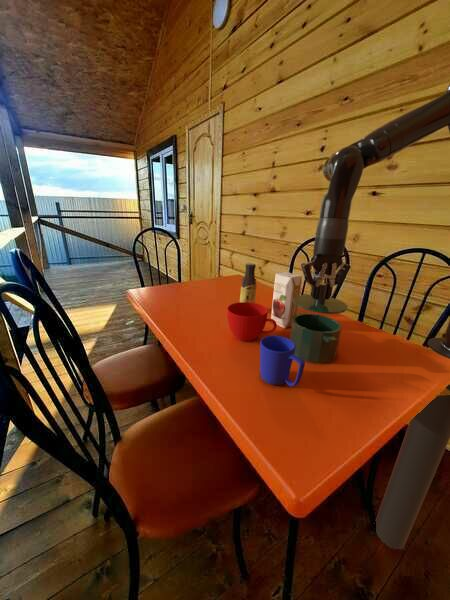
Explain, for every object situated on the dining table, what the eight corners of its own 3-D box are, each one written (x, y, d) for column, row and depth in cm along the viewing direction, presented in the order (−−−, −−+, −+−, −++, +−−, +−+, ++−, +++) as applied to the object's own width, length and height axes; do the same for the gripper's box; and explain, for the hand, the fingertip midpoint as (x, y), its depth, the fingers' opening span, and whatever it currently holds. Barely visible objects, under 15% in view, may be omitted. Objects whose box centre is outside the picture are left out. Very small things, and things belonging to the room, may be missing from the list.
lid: (329, 297, 80) (333, 277, 78) (358, 315, 67) (363, 291, 65) (285, 298, 78) (288, 277, 76) (305, 316, 65) (309, 291, 63)
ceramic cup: (263, 355, 74) (266, 324, 71) (218, 337, 83) (219, 309, 80) (282, 339, 84) (286, 311, 80) (240, 325, 93) (241, 299, 90)
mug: (285, 403, 55) (291, 364, 52) (250, 375, 65) (253, 340, 62) (310, 390, 60) (316, 353, 57) (274, 365, 69) (278, 332, 66)
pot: (318, 335, 87) (322, 309, 84) (350, 367, 69) (357, 336, 66) (279, 336, 85) (282, 310, 82) (303, 370, 68) (308, 338, 65)
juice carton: (281, 317, 101) (286, 270, 95) (298, 325, 95) (305, 275, 88) (267, 321, 97) (272, 273, 91) (285, 330, 90) (291, 278, 84)
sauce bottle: (245, 314, 103) (248, 266, 97) (236, 309, 108) (238, 263, 101) (257, 311, 107) (261, 264, 100) (247, 306, 112) (250, 261, 105)
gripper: (311, 237, 62) (302, 303, 67) (364, 238, 64) (351, 303, 69) (299, 234, 69) (291, 294, 74) (347, 235, 71) (336, 294, 76)
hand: (320, 298), depth 72 cm, fingers closed on lid, 3 cm apart
